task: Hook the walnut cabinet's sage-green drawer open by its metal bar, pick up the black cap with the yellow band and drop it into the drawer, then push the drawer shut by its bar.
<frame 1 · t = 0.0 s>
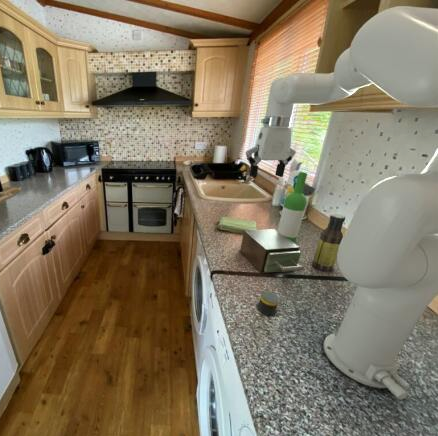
hand: (265, 176, 83), 31 cm above the worktop, tool pointing down, fingers open, 9 cm apart
cap: (266, 309, 68), on the worktop
sauce bottle: (321, 266, 88), on the worktop
wine bottle: (285, 241, 107), on the worktop
washcloth: (236, 228, 118), on the worktop
cabinet: (265, 259, 92), on the worktop
drawer: (275, 255, 86), point 5 cm above the worktop, slide at 0.5 cm
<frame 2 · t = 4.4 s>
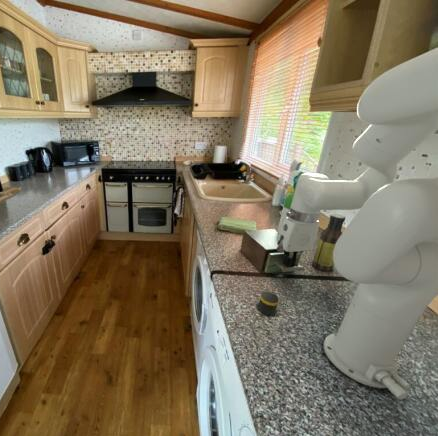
hand: (288, 265, 80), 5 cm above the worktop, tool pointing down, fingers closed
nothing on the worktop moved.
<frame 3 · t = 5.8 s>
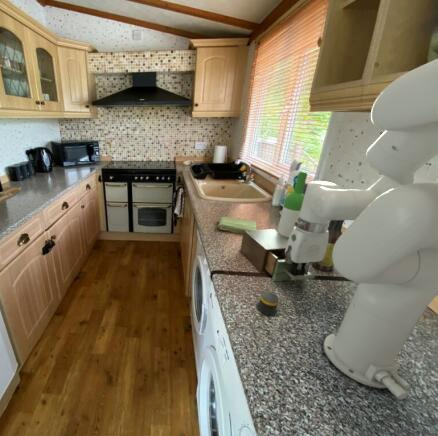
hand: (296, 277, 77), 3 cm above the worktop, tool pointing down, fingers closed
drawer: (284, 263, 82), point 5 cm above the worktop, slide at 5.1 cm, touching gripper
everything else where it was.
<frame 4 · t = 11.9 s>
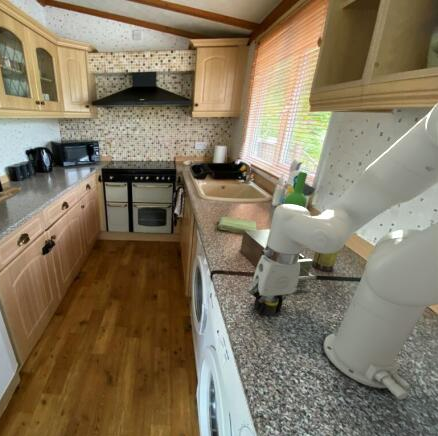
hand: (266, 308, 68), 0 cm above the worktop, tool pointing down, fingers closed on cap, 4 cm apart
cap: (266, 309, 68), on the worktop, touching gripper
drawer: (285, 264, 81), point 5 cm above the worktop, slide at 5.7 cm
everything else where it was.
when the fingers open (9 cm above the worktop, at t = 17.8 s): cap drops 7 cm, resting on drawer.
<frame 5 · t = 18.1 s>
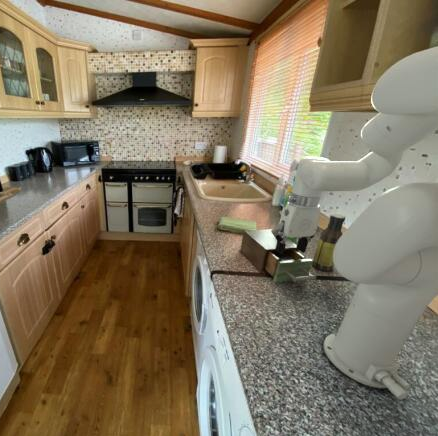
hand: (289, 251, 79), 10 cm above the worktop, tool pointing down, fingers open, 7 cm apart
cap: (284, 271, 82), point 2 cm above the worktop, touching drawer
drawer: (285, 264, 81), point 5 cm above the worktop, slide at 5.7 cm, touching cap
everything else where it was.
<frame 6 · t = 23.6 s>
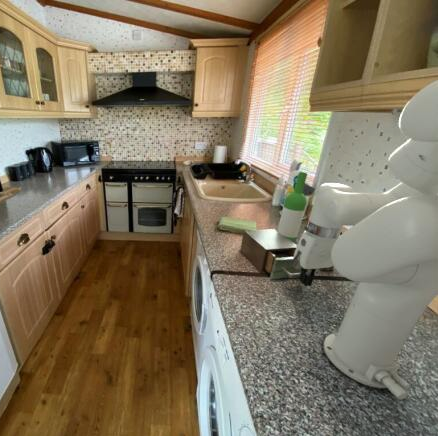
hand: (304, 283, 73), 4 cm above the worktop, tool pointing down, fingers closed
cap: (280, 268, 84), point 2 cm above the worktop, touching drawer
drawer: (281, 261, 83), point 5 cm above the worktop, slide at 4.0 cm, touching cap
everything else where it was.
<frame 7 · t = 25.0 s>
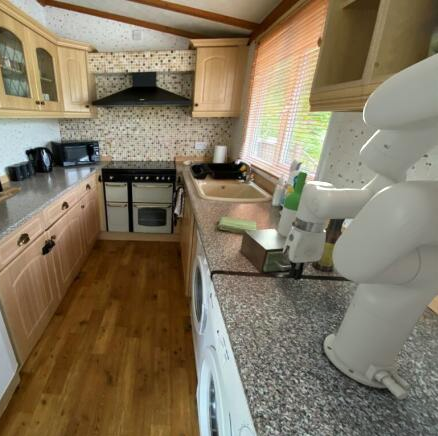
hand: (294, 277, 77), 3 cm above the worktop, tool pointing down, fingers closed
cap: (273, 261, 87), point 2 cm above the worktop, touching drawer
drawer: (274, 255, 87), point 5 cm above the worktop, slide at 0.0 cm, touching cabinet, cap, gripper
everything else where it was.
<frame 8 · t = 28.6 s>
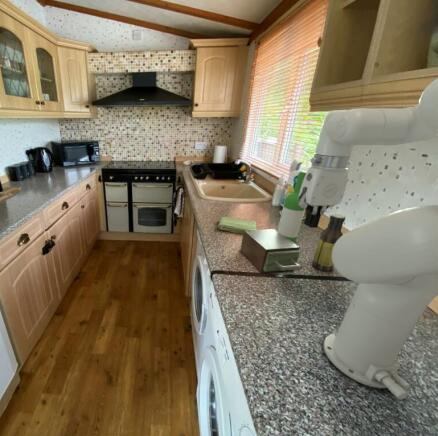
hand: (310, 225, 70), 21 cm above the worktop, tool pointing down, fingers closed
drawer: (274, 255, 87), point 5 cm above the worktop, slide at 0.0 cm, touching cabinet, cap
everything else where it was.
at the end: cap inside the target area in the cabinet (4.6 cm from its centre), point 2.0 cm above the cabinet's base; drawer slide at 0.0 cm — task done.
